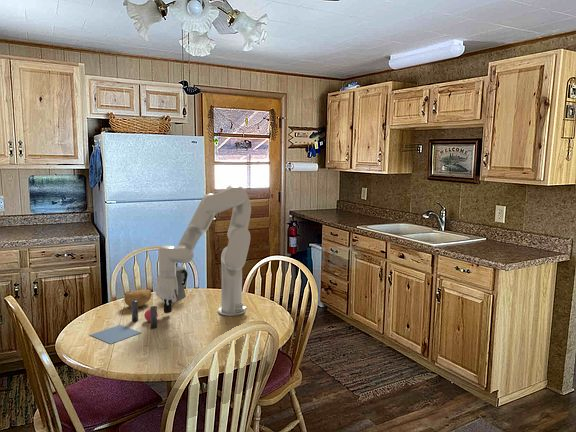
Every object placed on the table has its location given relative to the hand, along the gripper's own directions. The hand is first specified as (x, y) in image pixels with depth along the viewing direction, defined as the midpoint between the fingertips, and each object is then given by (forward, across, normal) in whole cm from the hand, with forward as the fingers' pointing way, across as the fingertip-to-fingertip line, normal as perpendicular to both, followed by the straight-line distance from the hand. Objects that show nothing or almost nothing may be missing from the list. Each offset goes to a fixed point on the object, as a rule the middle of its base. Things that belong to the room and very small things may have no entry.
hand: (167, 312), depth 202 cm
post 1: (+2, -6, -13) cm, 14 cm away
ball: (-1, 0, -9) cm, 9 cm away
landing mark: (+2, 0, -27) cm, 27 cm away
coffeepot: (+2, -17, +21) cm, 27 cm away
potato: (+2, -21, 0) cm, 21 cm away
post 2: (+2, +6, -13) cm, 15 cm away
